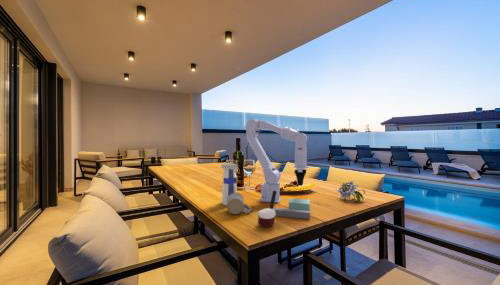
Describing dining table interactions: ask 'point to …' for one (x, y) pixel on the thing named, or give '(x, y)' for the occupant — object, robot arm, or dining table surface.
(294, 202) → the block
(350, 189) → the passion flower
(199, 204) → the dining table surface
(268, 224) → the cocoa
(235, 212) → the ceramic mug
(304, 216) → the gray bar
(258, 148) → the robot arm
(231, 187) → the water bottle
